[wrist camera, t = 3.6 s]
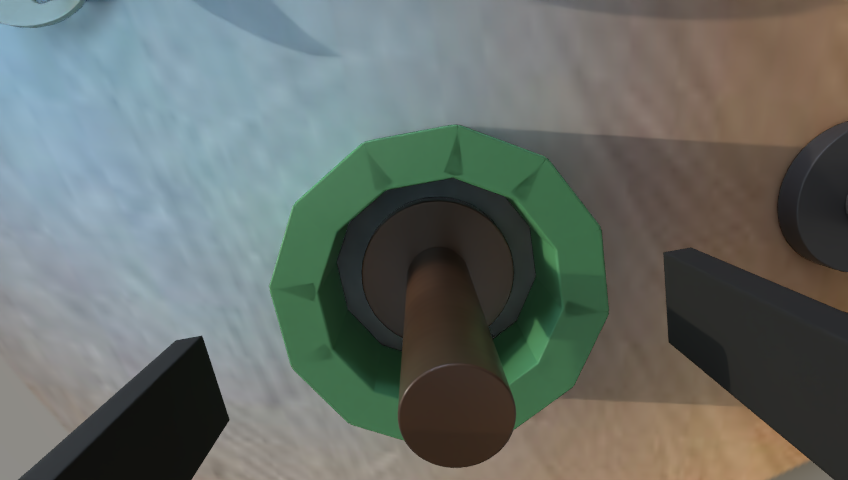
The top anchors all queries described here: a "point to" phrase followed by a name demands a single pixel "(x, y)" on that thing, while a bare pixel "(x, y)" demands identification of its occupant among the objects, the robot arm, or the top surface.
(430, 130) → the ring
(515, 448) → the top surface
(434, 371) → the walnut peg
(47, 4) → the pacifier
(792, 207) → the charcoal peg
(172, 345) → the robot arm
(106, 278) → the top surface
